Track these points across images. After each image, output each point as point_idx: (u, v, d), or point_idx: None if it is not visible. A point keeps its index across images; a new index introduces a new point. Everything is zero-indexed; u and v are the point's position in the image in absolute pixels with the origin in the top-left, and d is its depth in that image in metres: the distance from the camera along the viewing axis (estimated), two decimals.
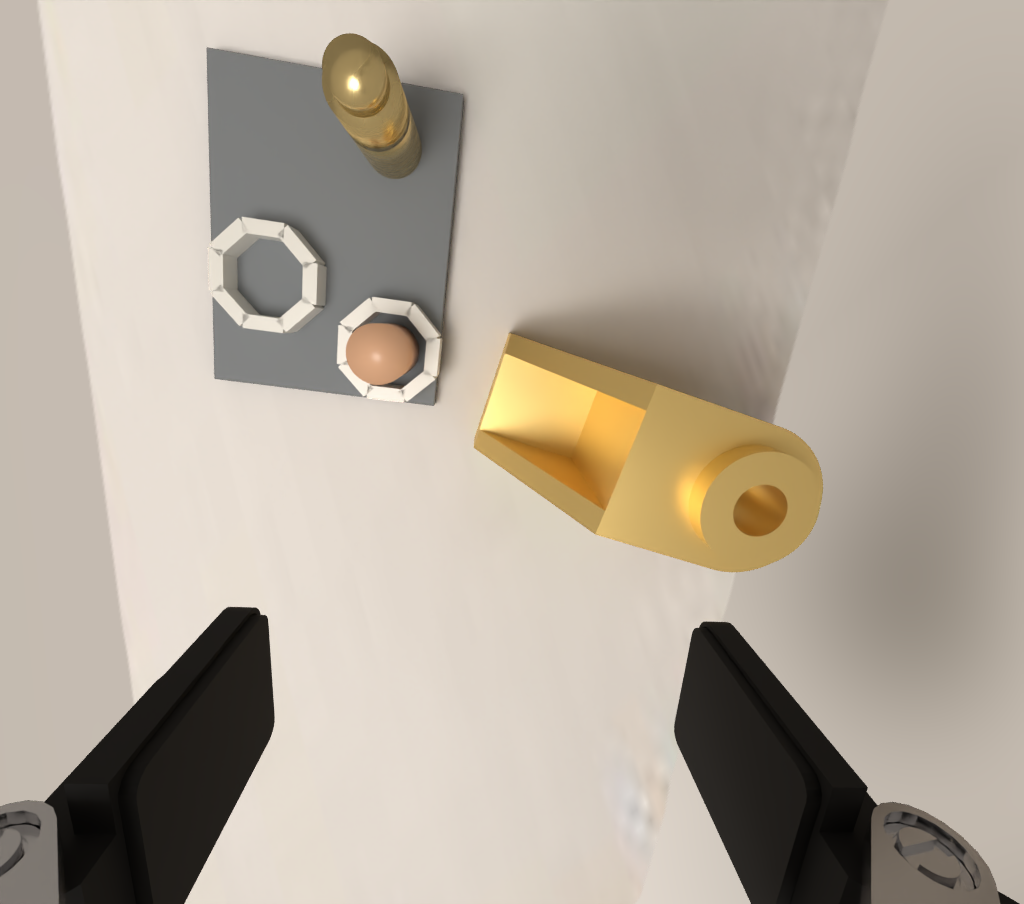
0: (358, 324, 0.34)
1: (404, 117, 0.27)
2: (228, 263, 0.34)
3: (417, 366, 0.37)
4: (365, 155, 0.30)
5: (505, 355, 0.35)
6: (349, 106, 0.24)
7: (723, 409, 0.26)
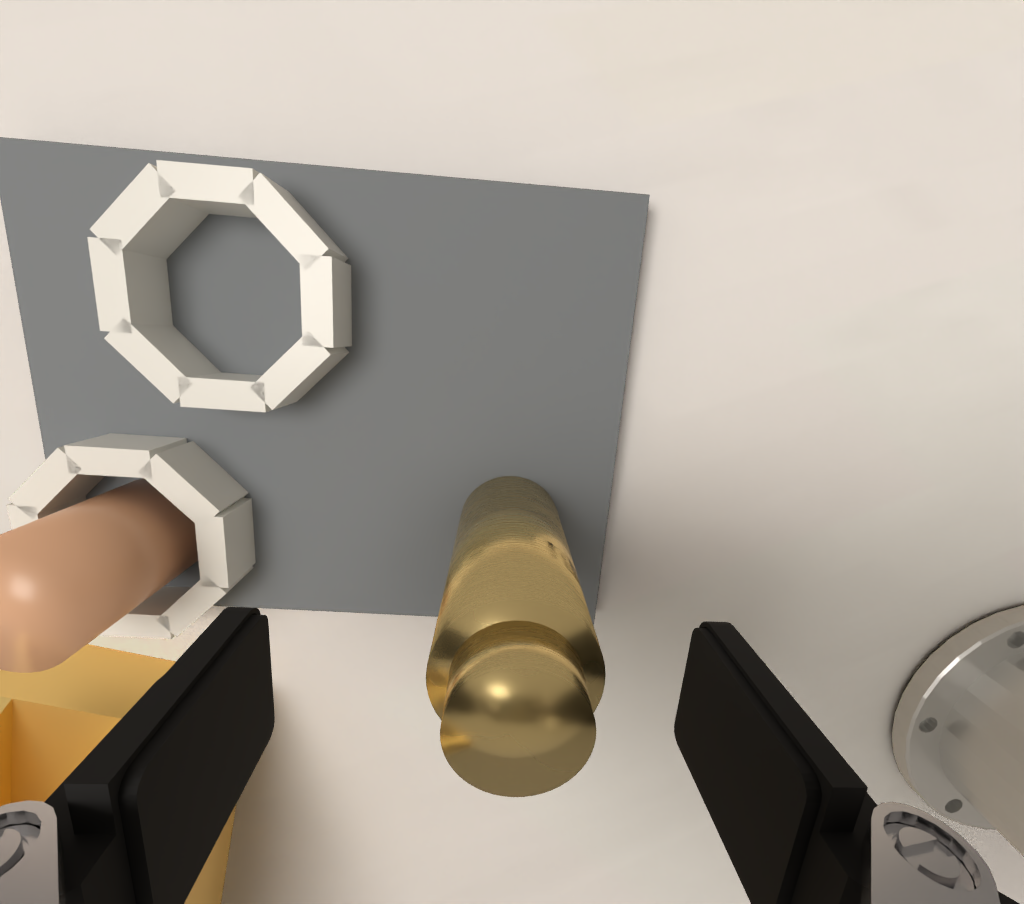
0: (161, 490, 0.17)
1: None
2: (240, 208, 0.15)
3: None
4: (461, 530, 0.16)
5: None
6: (443, 710, 0.09)
7: None
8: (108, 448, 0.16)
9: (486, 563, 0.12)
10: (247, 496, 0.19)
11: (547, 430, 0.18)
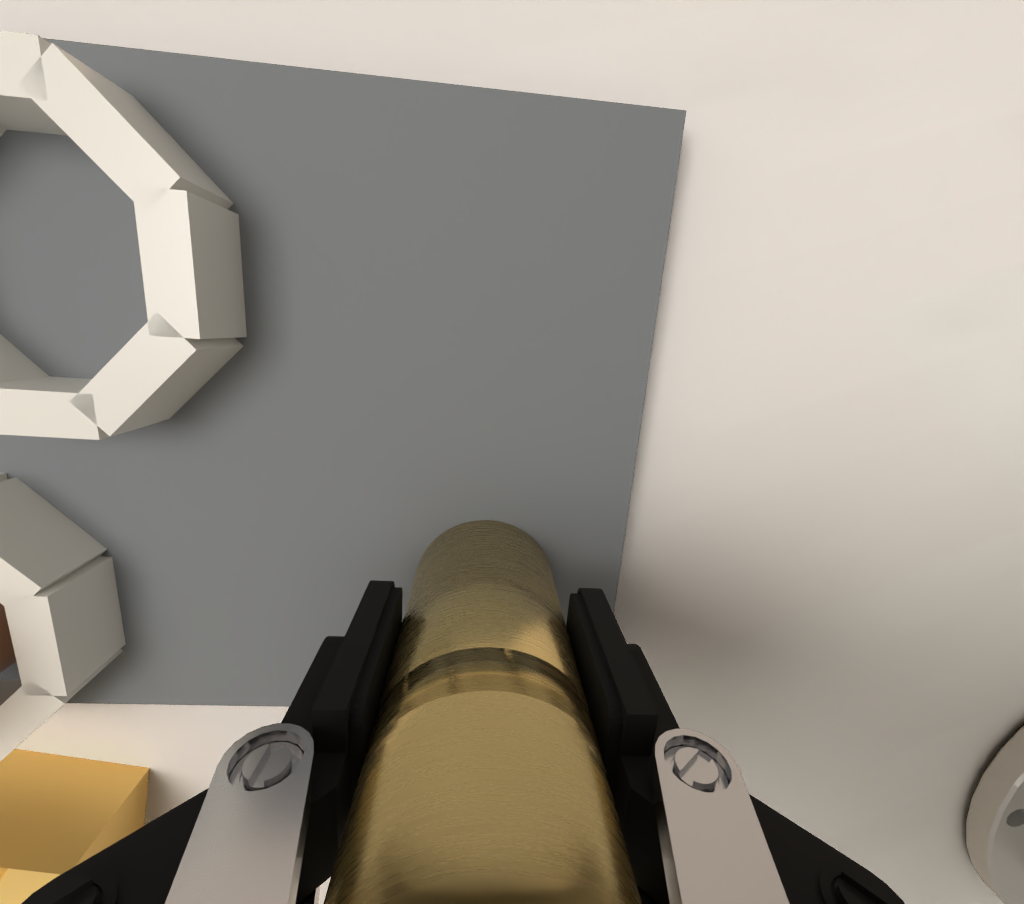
0: None
1: None
2: (38, 113, 0.09)
3: None
4: (407, 619, 0.10)
5: (2, 870, 0.13)
6: None
7: None
8: None
9: (431, 732, 0.07)
10: (105, 554, 0.13)
11: (536, 456, 0.13)
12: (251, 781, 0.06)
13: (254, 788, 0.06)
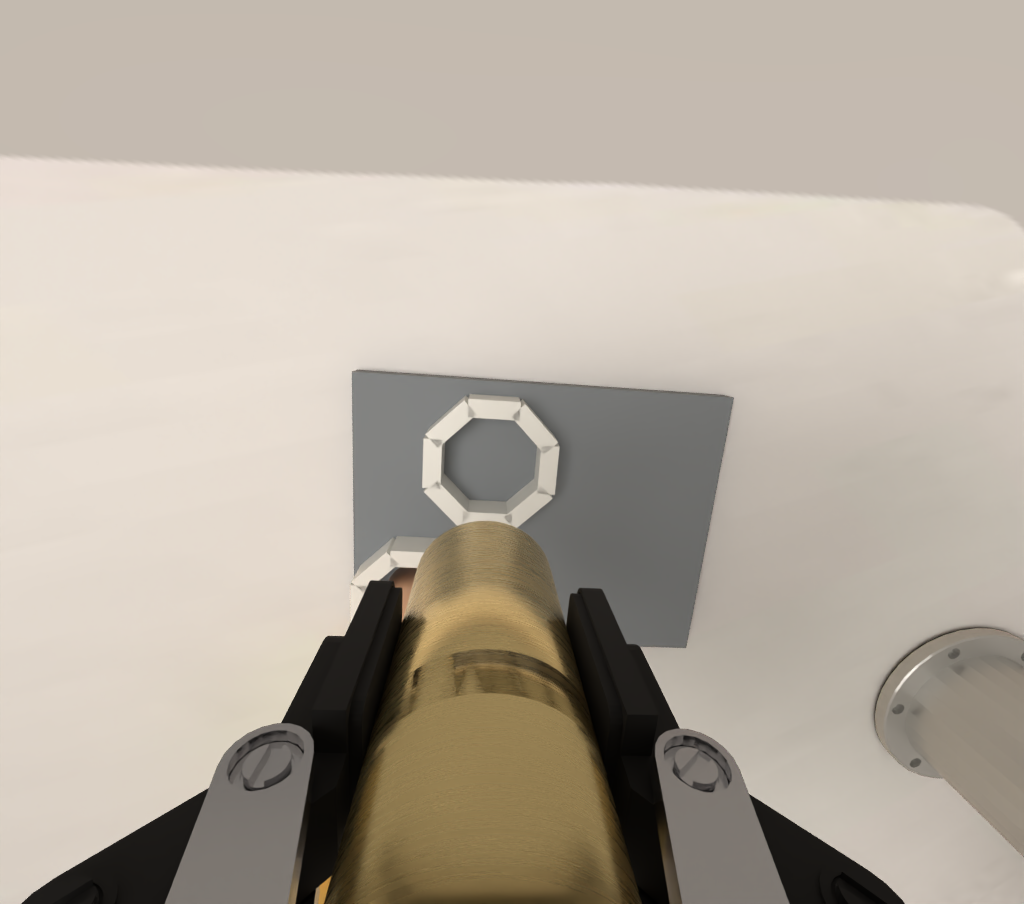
0: None
1: None
2: None
3: None
4: (407, 621, 0.10)
5: None
6: None
7: None
8: (415, 552, 0.27)
9: (431, 735, 0.06)
10: None
11: (664, 530, 0.30)
12: (251, 781, 0.06)
13: (254, 788, 0.06)
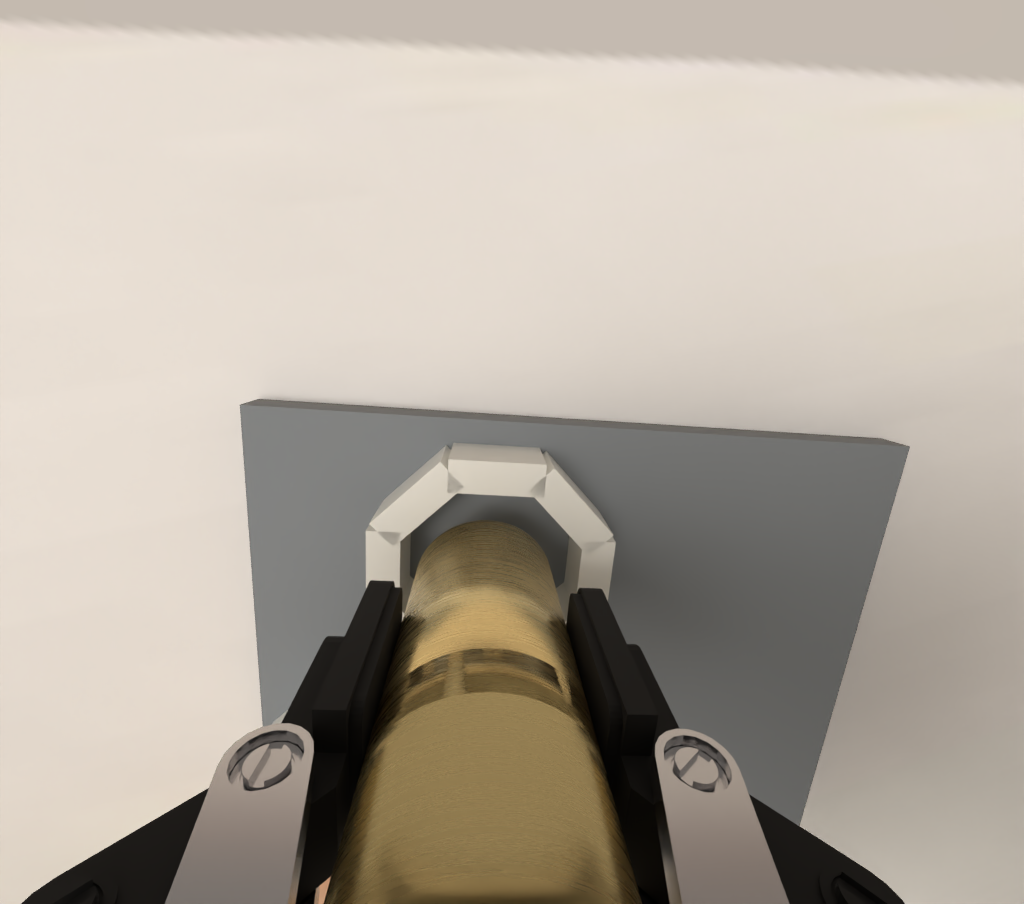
0: None
1: None
2: None
3: None
4: (407, 620, 0.10)
5: None
6: None
7: None
8: None
9: (431, 734, 0.06)
10: None
11: (777, 660, 0.18)
12: (251, 781, 0.06)
13: (254, 788, 0.06)
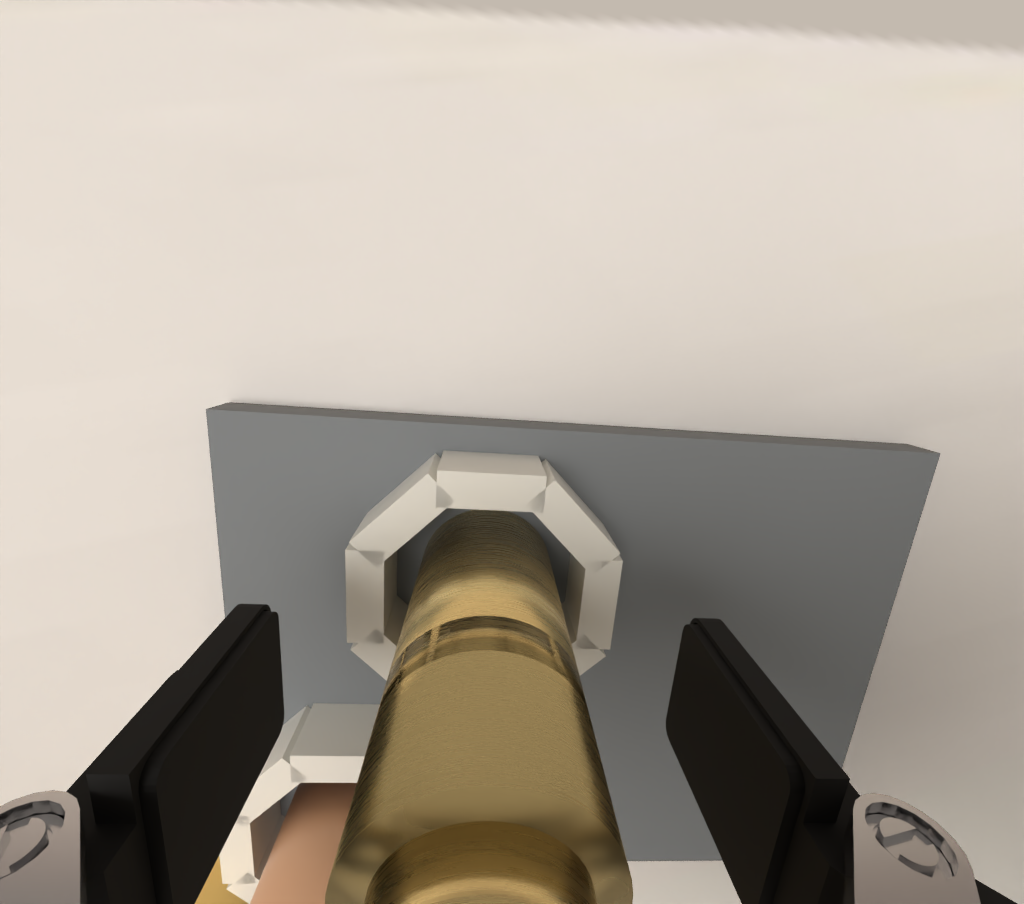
0: None
1: None
2: None
3: None
4: (415, 595, 0.11)
5: None
6: None
7: None
8: (339, 755, 0.14)
9: (437, 683, 0.07)
10: None
11: (793, 682, 0.17)
12: None
13: None
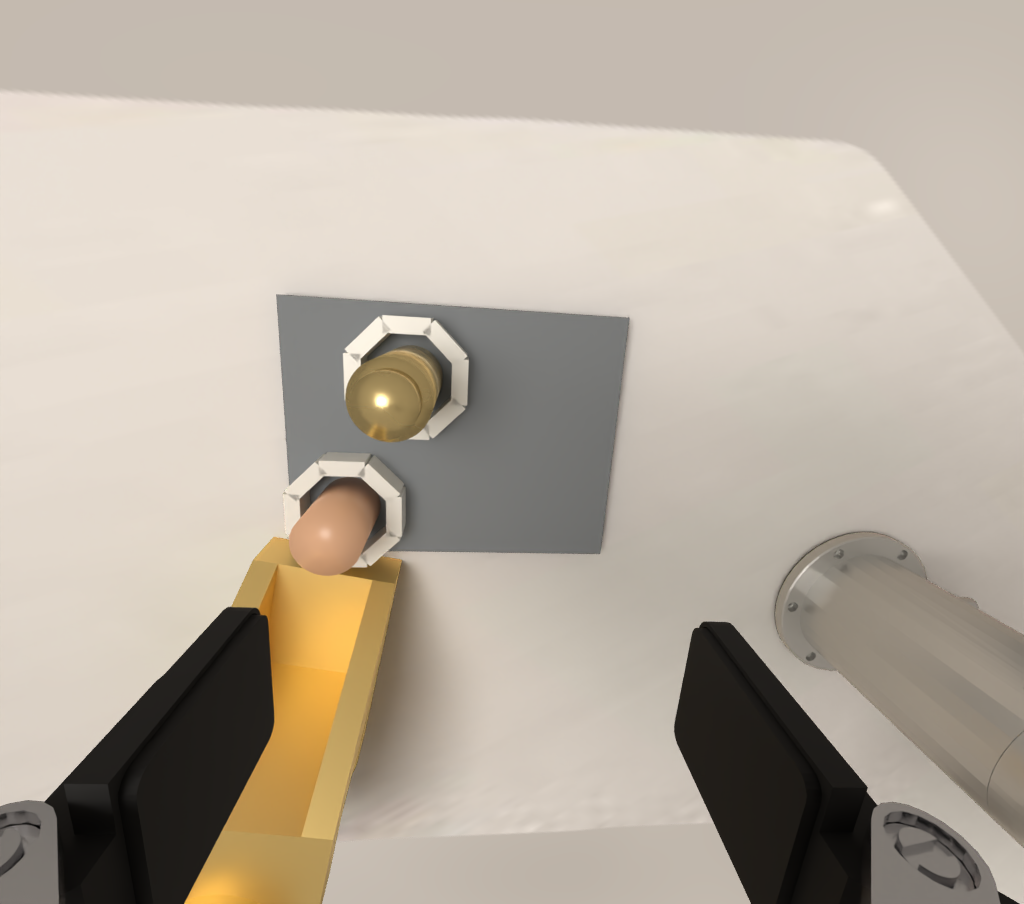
0: (368, 483, 0.30)
1: None
2: None
3: None
4: None
5: (370, 581, 0.32)
6: None
7: (318, 898, 0.24)
8: (342, 461, 0.30)
9: (378, 356, 0.23)
10: None
11: (574, 443, 0.33)
12: None
13: None
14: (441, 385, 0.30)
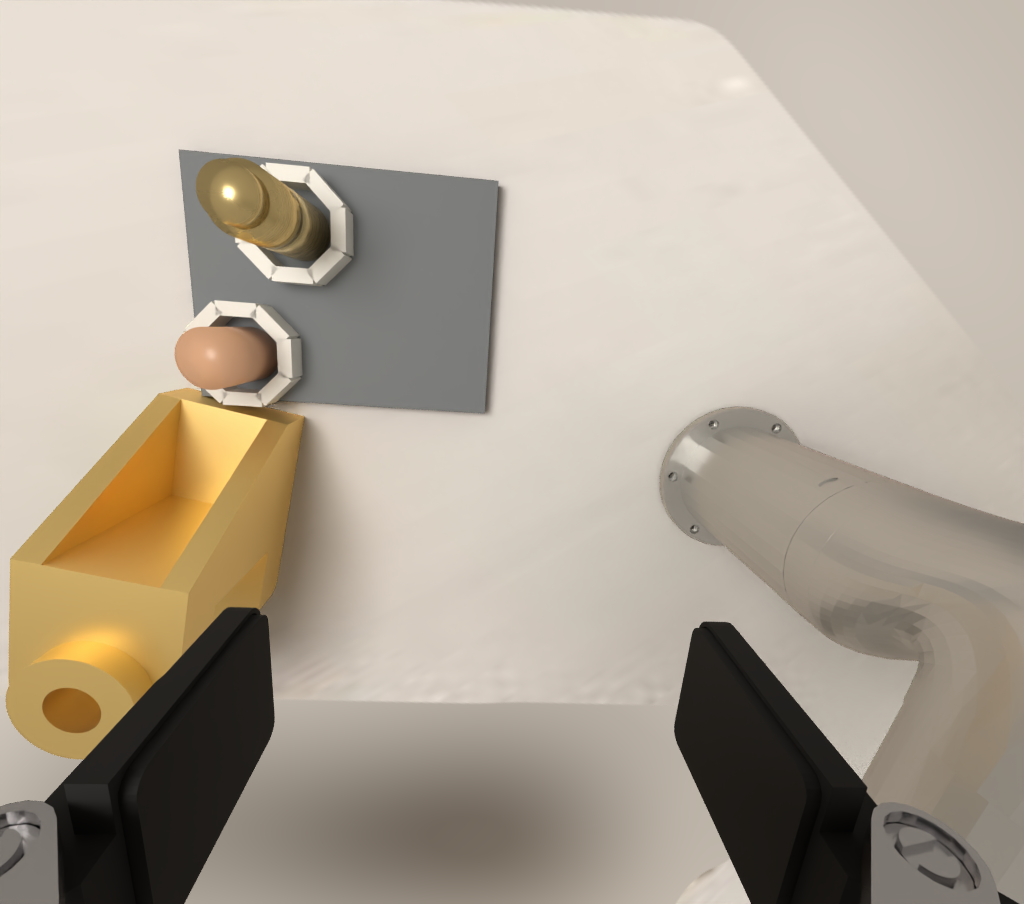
0: (260, 324, 0.34)
1: None
2: (301, 185, 0.32)
3: None
4: None
5: (265, 420, 0.35)
6: None
7: (179, 654, 0.28)
8: (235, 302, 0.33)
9: None
10: (298, 337, 0.36)
11: (454, 302, 0.36)
12: None
13: None
14: (325, 236, 0.33)
